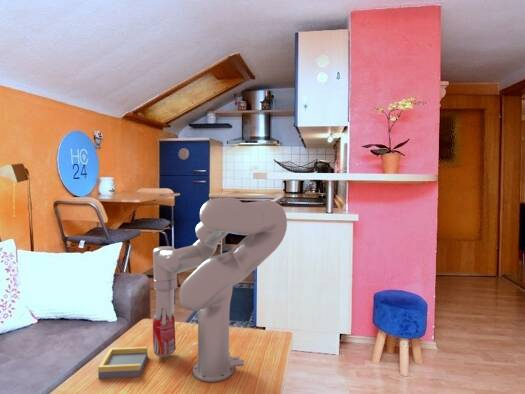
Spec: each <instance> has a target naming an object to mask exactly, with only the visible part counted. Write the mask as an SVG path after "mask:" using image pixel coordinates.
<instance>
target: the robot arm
mask: <svg viewBox="0 0 525 394" xmlns="http://www.w3.org/2000/svg"><path fill="white" fill-rule="evenodd" d="M199 220H200V222H198V224H196V226H195V230H194V231H195V235H196V238H197V239H198V240H196V241H195V242H194V243H193V244H192V245H189V246H184V247H180V248H175V247H173V246H172V245H171V246H169V245H166V246H163V245H162V246H158V247H155V248H154V249H153V250H152V263H153V264H152V268H153V290H155V291H156V295H155V296H156V297H155V314H156V320H160V317H162V326H163V325H166V316H168V317H169V320H170V319H171V316H172V313H173V314H174V311H175V289H177V288H178V275H177V274H179V273H183V272H186V271H189V270H192V269H195V268H196V269H195V270H193V272H192V273H191V274H190V275H189V276H188V277H187V278H186V279H185V280H184V281H183V282H182V283H181V286H180V288H179V293H178V297H179V302H180V304H181V305H182V307H183V308H185V309H186V310H188V311H190V312H198V317H197V320H198V321H197V362H196V363H195V364H194V365H193V367H192V373H193V376H194V377H195V378H196V379H198V380H200V381H203V382H207V383H208V382H209V383H212V382H213V383H216V382H220V381H224V380H226V379H228V378H230V376H232V375H233V374H234V371H235V370H234V369H235V368H234V367H244V365H245V364H244V363H245V362H244V359H240V356H232V355H231V352H230V309H231V300H232V296H233V290H234V288H233V286H235V285H237V284H240V283H242V282H243V281H244V280H246V278H247V277H248V276H249V275H250V274H251V273H253V271H255V270H256V269H257V268H258V267H259V266H260V265H261V264H262V263H263V262H265V260H266V259H268V258H269V257H270V256H271V255H272V254H273V253H274V252H275V251H276V250H277V249H278V247H280V245H281V243H282V241H284V238H285V236H286V233H287V230H288V229H287V228H288V221H287V220H288V217H287V215H286V210H285V209H284V208H283V206H282V205H281V204H279V203H278V202H276V201H274V200H258V201H250V202H242V201H241V200H240V199H238V198H236V197H226V196H225V197H216V198H211V199H208V200H207V201H205V202H204V203H203V205H202V206H201V208H200V211H199ZM228 234H234V235H241V236H245V237H244V238H243V239H241V241H240V242H239V243H237V245H236V246H234V247H233V248H232V249H230V250H228V251H227V252H223V253H221V254H220V253H219V254H216V255H214V254H215V252H216V251H217V249H218V244H219V243H220V242H221V241H222V240H223V239H224V238H226V236H227V235H228ZM213 255H214V256H213Z"/></svg>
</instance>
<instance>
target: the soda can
mask: <svg viewBox="0 0 525 394" xmlns="http://www.w3.org/2000/svg"><path fill="white" fill-rule="evenodd" d="M175 321H176V320H175V316H174V312H173V313H172V316H171V319H170V320H169V317H168V316H166V325H163V326H162V317H160V320H156V313H154V315H153V318H152V343H153V345H152V346H153V347H152V348H153V354H154V355H155V356H157V357H161V358H163V357H164V358H165V357H169V356H171V355H173V354H174V353H175V351H176V325H175V324H176V322H175Z"/></svg>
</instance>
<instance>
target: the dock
mask: <svg viewBox="0 0 525 394" xmlns="http://www.w3.org/2000/svg"><path fill="white" fill-rule="evenodd" d="M148 353H149V351H148V346H137V347H136V346H134V347H131V346H130V347H128V346H127V347H111V348H109V349H108V351H107V352H106V354H105V355H104V357H103V359H102V361H101V362H100V364H99V365H98V366H97V367H98V368H97V369H98V373H97V374H98V376H97V377H98V379H100V380H101V379H115V378H116V379H118V378H119V379H120V378H132V377H133V378H139V377H141V375H142V373H143V370H144V367H145V365H146V361H147V359H148Z"/></svg>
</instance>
